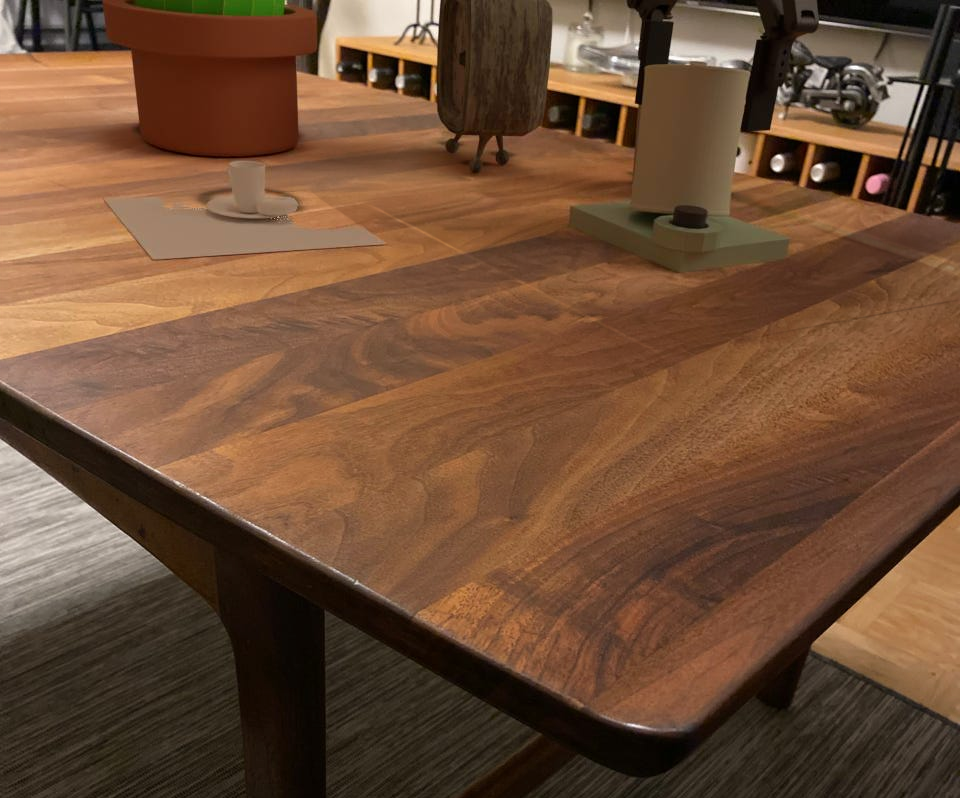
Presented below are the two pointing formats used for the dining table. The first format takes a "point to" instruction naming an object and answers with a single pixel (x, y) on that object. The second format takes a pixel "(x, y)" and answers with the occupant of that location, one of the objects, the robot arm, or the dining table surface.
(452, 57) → the tabletop clock
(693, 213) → the tare button
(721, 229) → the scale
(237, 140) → the potted cactus
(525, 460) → the dining table surface
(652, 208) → the can
